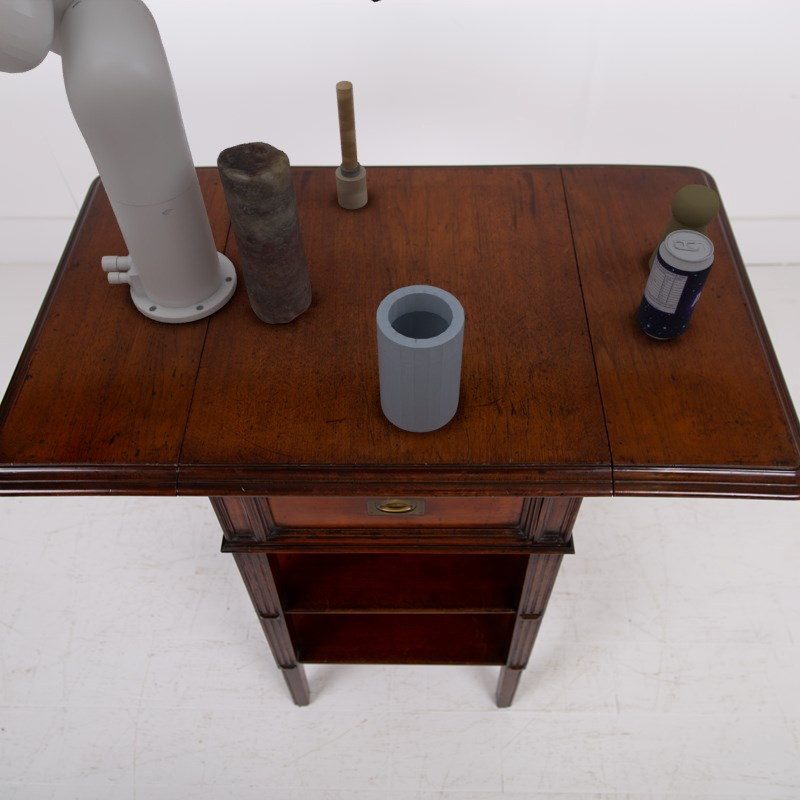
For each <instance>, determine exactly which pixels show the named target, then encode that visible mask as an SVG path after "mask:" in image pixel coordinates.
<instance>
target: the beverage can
mask: <svg viewBox="0 0 800 800" xmlns="http://www.w3.org/2000/svg"><path fill="white" fill-rule="evenodd" d="M714 252H715V245H714V244H713V242H712V240H711V239H710V238H709V237H708V236H707V235H706V236H705V235H703V234H701V233H699V232H696V231H691V230H678V231H674V232H672V233H670V234H669V235H668V236H667V237H666V239H665V240H664V241H663V242H662V243H661V244H660V246H659V248H658V251H657V254H656V257H655V260H654V263H653V266H652V269H651V270H650V273H649V276H648V279H647V282H646V285H645V288H644V291H643V293H642V296H641V300H640V303H639V306H638V309H637V313H636V316H635V319H636V322H637V325H638V326H639V328H640V329H641V330H642V331H644V333H645V334H647V336H649V337H651V338H653V339H656V340H669V339H676V338H678V337H680V336H682V335H683V334H684V333H685V332H686V331H687V328H688V326H689V324H690V321H691V319H692V316H693V313H694V311H695V309H696V306H697V304H698V302H699V299H700V296H701V295H702V291H703V289H704V287H705V284H706V282H707V280H708V277H709V275H710V273H711V270H712V268H713V265H714V262H715V255H714Z"/></svg>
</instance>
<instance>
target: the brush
mask: <svg viewBox="0 0 800 800" xmlns="http://www.w3.org/2000/svg"><path fill="white" fill-rule="evenodd" d="M335 94H336V104H337V114H338V115H337V117H338V129H339V141H340V152H341V163H340V165H339V166H338V167H337V168H336V170H335V183H336V192H337V203H338V205H339V206H340V207H342V208H344V209H345V210H346V209H347V210H357V209H361V208H364V207H365V206H366V205H367V203H368V185H367V183H368V182H367V170H366V168H365V166H363V165H362V164H361V163H360V162H359V161H358V160H359V159H358V146H357V132H356V131H357V130H356V115H355V101H354V99H355V98H354V85H353V83H352V82H351V81H348V80H341V81H338V82H337V83H336V84H335Z"/></svg>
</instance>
